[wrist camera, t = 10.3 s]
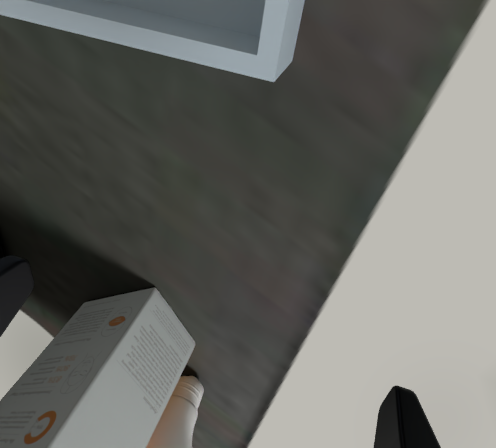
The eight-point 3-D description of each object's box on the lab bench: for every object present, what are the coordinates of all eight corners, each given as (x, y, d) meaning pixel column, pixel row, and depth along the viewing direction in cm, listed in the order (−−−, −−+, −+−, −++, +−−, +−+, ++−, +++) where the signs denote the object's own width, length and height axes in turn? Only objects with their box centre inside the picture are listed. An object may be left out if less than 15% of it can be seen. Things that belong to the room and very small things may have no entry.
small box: (126, 352, 36) (18, 517, 25) (83, 300, 33) (-56, 460, 23) (199, 344, 32) (107, 535, 22) (157, 284, 29) (29, 468, 19)
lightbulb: (148, 363, 36) (69, 498, 27) (193, 346, 32) (119, 494, 23) (193, 405, 37) (133, 544, 29) (241, 393, 34) (189, 547, 25)
